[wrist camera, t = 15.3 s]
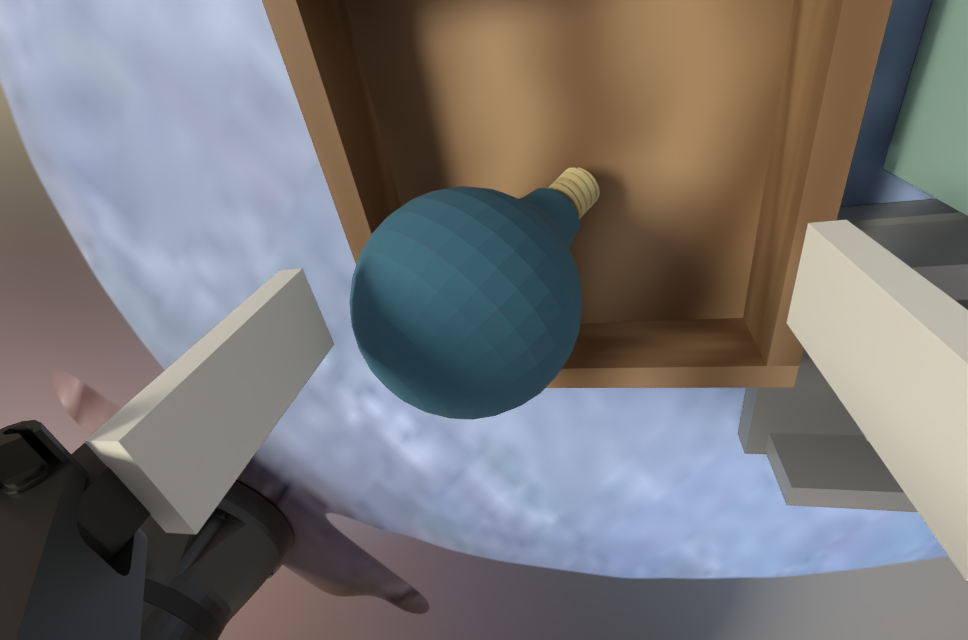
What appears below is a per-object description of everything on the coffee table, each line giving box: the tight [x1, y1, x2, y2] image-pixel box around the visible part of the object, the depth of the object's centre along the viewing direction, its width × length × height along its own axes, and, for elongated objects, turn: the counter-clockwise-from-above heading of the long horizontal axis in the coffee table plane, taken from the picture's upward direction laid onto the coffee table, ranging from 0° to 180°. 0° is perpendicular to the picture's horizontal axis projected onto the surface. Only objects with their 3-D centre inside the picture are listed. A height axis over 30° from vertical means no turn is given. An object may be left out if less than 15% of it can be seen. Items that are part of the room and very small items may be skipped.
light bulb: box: [350, 167, 600, 419], centre depth 18 cm, size 8×8×12 cm
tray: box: [262, 0, 893, 388], centre depth 19 cm, size 18×18×4 cm
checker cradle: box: [738, 199, 968, 512], centre depth 20 cm, size 14×14×5 cm
